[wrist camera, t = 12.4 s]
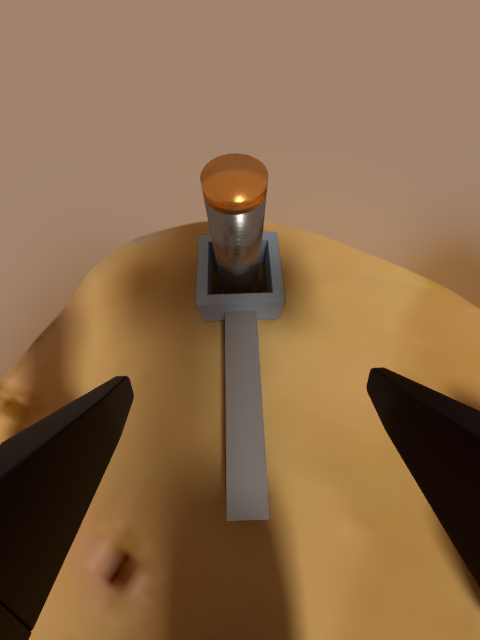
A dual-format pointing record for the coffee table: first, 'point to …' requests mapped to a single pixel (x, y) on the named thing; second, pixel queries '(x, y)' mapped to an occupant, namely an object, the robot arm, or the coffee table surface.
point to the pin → (236, 218)
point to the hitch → (243, 374)
